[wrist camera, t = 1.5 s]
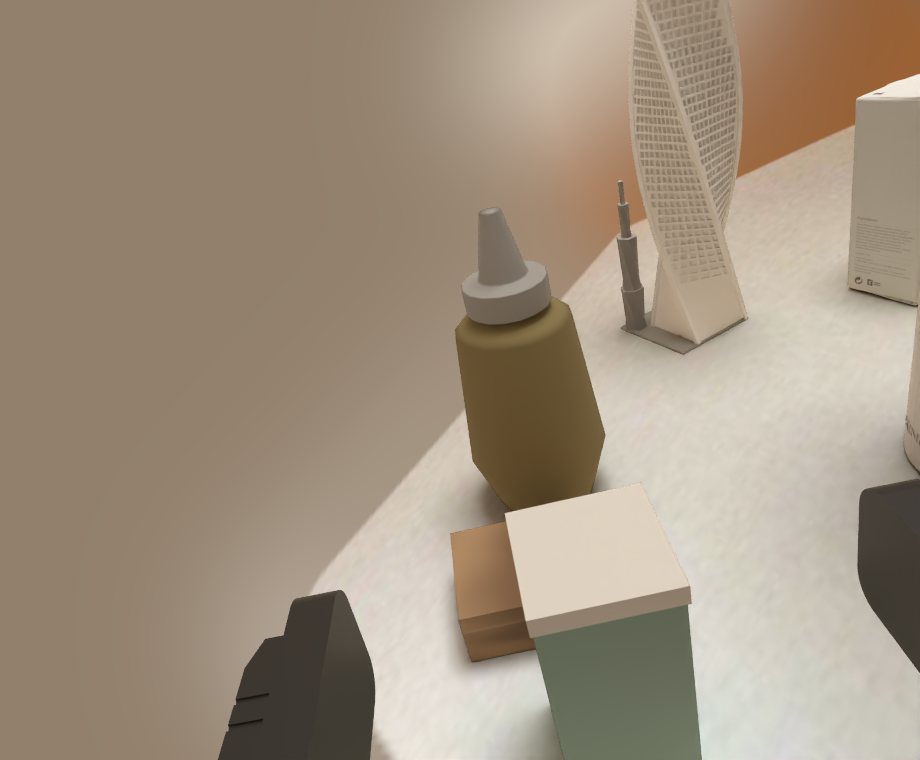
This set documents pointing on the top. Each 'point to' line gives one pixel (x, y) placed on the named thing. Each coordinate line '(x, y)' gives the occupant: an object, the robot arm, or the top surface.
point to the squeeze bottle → (524, 378)
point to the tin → (609, 625)
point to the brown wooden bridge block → (488, 593)
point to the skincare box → (887, 193)
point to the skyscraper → (683, 169)
